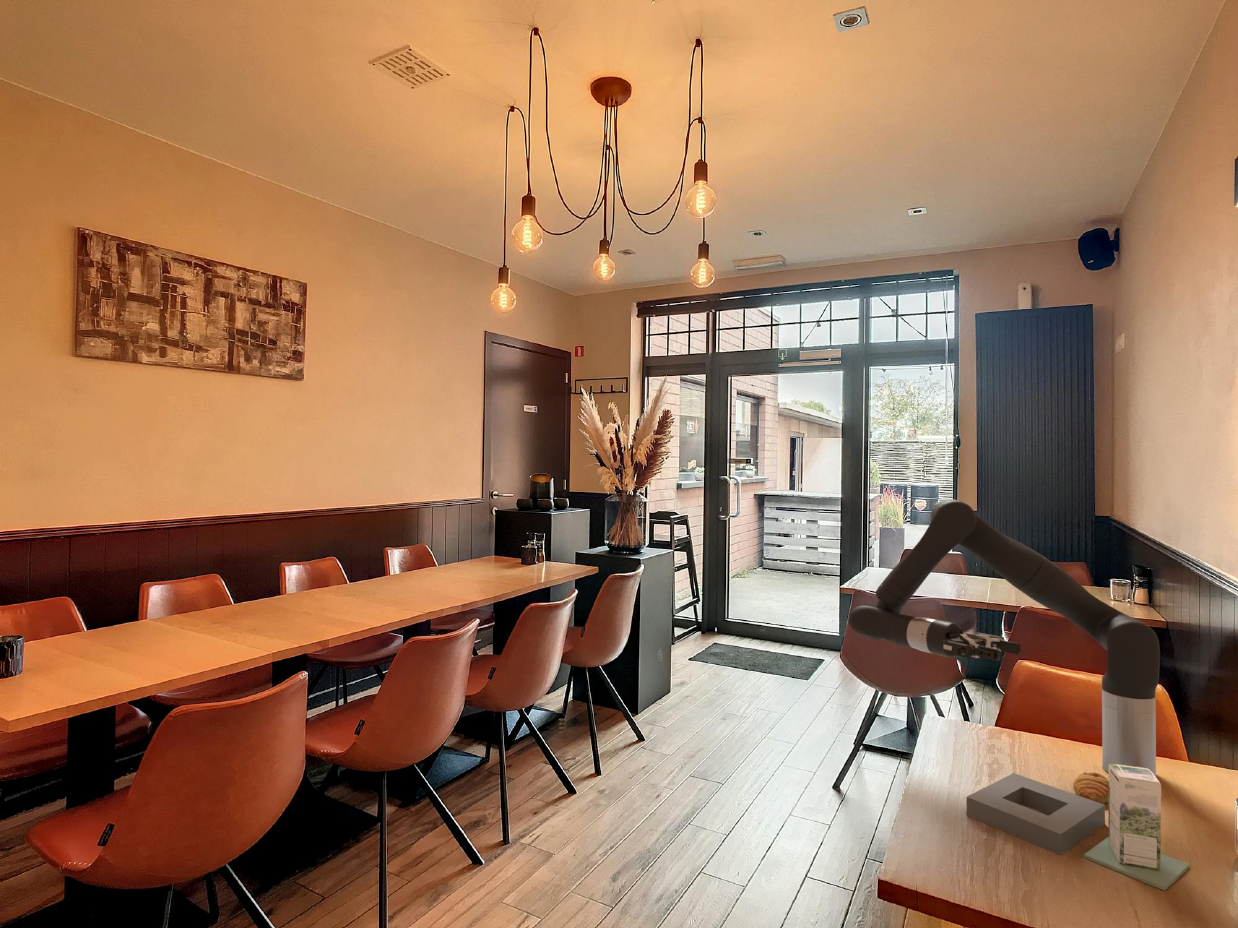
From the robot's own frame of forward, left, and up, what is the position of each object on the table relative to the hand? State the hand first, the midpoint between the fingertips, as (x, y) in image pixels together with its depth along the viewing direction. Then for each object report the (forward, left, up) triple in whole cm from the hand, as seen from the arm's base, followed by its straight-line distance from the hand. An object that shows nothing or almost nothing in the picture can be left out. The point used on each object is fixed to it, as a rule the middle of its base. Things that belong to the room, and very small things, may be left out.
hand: (1010, 652), depth 137 cm
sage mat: (+9, +24, -28) cm, 38 cm away
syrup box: (+9, +24, -28) cm, 38 cm away
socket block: (+8, +8, -28) cm, 30 cm away
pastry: (-12, +10, -28) cm, 33 cm away
